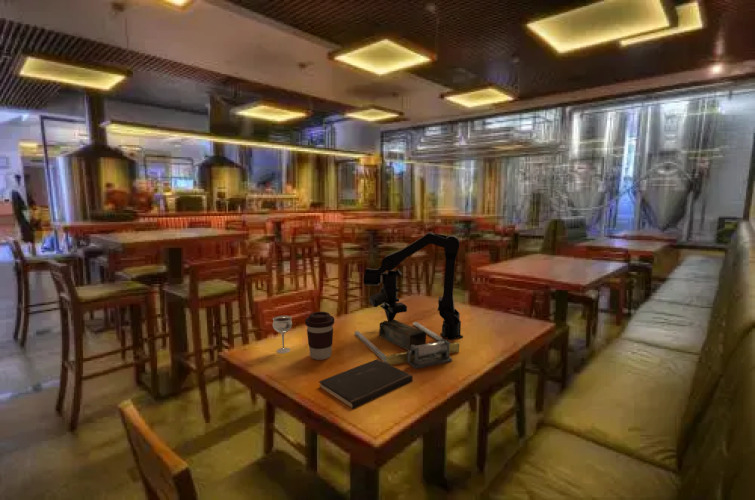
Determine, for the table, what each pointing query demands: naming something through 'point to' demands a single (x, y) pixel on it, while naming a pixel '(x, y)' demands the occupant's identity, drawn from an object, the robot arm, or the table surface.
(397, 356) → the bay
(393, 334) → the beverage carton
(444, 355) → the winch
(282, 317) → the wineglass
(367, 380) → the hardcover book
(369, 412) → the table surface
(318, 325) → the coffee cup
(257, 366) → the table surface
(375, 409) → the table surface
